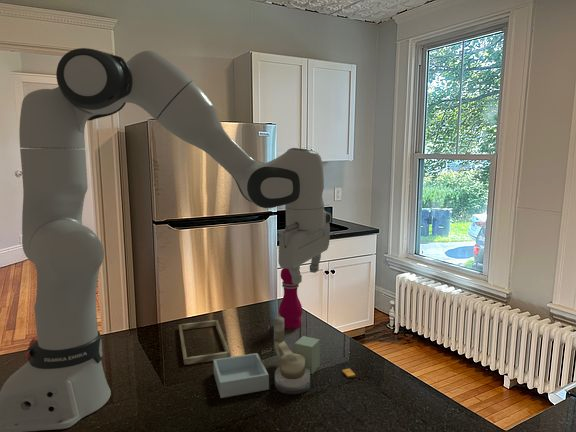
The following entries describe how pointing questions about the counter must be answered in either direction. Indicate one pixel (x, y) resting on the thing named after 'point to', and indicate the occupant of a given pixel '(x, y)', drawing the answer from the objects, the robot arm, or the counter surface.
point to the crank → (287, 353)
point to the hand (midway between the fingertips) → (305, 277)
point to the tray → (240, 375)
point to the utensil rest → (209, 356)
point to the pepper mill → (290, 302)
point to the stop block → (309, 352)
